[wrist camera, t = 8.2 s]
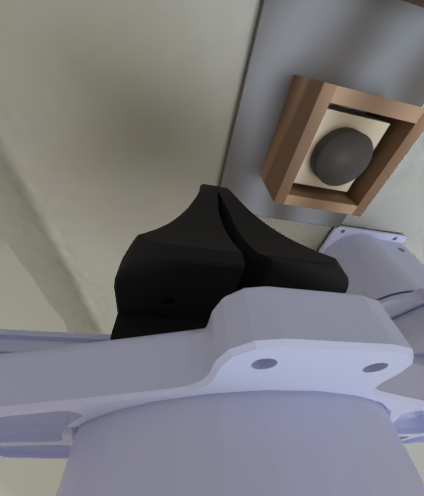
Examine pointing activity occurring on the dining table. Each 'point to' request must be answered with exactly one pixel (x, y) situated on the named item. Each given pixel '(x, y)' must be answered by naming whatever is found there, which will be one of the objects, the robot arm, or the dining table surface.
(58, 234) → the dining table surface
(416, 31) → the stand
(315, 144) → the plunger
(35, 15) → the dining table surface
